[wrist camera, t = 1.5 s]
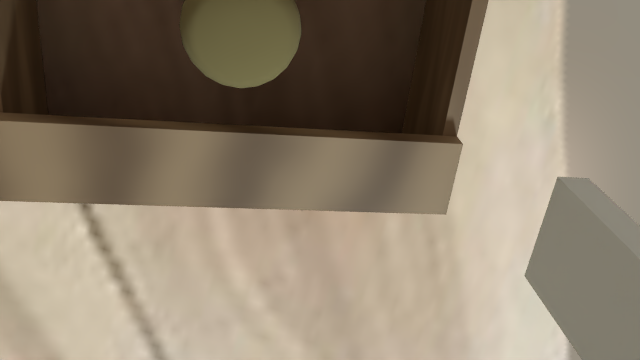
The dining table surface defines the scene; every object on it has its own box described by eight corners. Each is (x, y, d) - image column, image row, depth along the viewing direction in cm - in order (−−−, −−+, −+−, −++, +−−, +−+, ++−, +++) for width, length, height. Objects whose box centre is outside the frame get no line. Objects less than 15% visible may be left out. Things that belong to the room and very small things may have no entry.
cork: (229, -97, 32) (226, -75, 23) (314, -21, 35) (345, 28, 25) (163, -7, 34) (135, 49, 24) (248, 59, 36) (254, 133, 27)
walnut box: (36, 134, 37) (-10, 200, 30) (-9, -256, 28) (-89, -292, 21) (409, 152, 41) (445, 214, 34) (476, -186, 32) (544, -197, 25)
